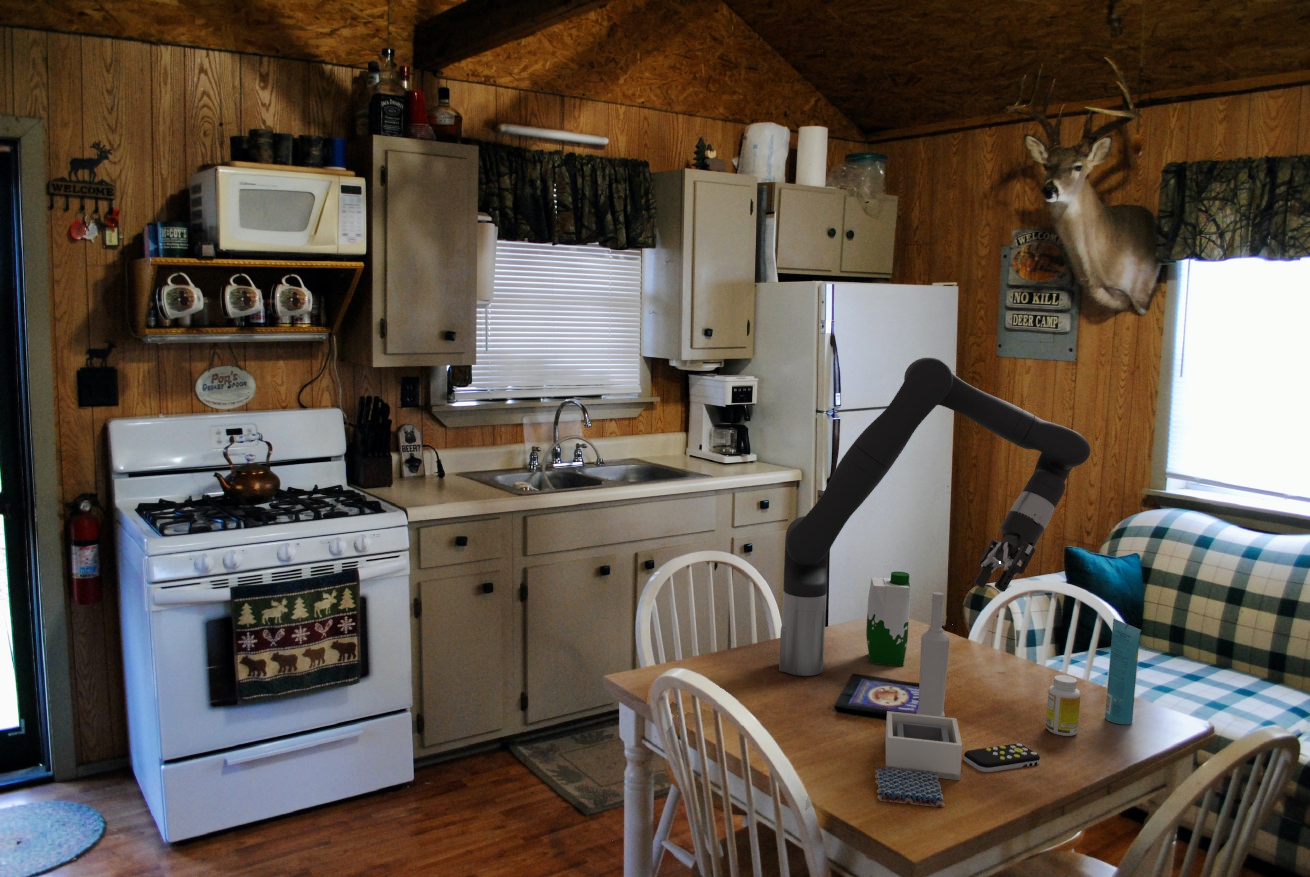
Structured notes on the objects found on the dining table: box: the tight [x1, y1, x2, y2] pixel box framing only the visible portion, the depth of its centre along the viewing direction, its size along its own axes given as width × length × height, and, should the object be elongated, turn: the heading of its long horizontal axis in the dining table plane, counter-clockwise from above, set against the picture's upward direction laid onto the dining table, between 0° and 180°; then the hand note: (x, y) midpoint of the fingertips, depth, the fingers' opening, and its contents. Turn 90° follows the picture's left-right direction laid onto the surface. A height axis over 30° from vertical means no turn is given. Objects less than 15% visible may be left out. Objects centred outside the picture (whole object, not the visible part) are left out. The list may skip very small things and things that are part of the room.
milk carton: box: [865, 571, 911, 667], centre depth 226 cm, size 9×9×20 cm
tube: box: [1104, 618, 1142, 725], centre depth 195 cm, size 7×5×19 cm, turn 20°
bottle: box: [916, 591, 951, 717], centre depth 191 cm, size 5×5×25 cm
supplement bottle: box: [1045, 674, 1081, 737], centre depth 189 cm, size 6×6×10 cm
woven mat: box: [874, 766, 946, 808], centre depth 164 cm, size 10×11×2 cm
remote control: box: [963, 743, 1041, 773], centre depth 176 cm, size 6×13×2 cm, turn 110°
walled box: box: [884, 710, 963, 781], centre depth 175 cm, size 12×12×6 cm
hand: (988, 587), depth 202 cm, fingers open, 8 cm apart
